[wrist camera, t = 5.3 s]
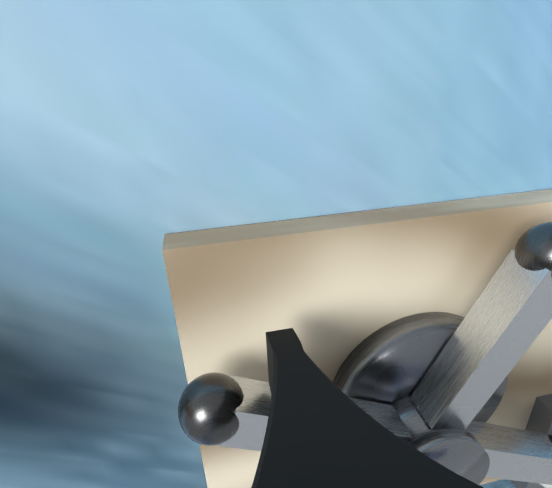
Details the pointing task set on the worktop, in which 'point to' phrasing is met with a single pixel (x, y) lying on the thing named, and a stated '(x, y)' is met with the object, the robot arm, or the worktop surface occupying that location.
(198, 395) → the cam capstan
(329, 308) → the stand plate
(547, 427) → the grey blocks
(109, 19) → the worktop surface
